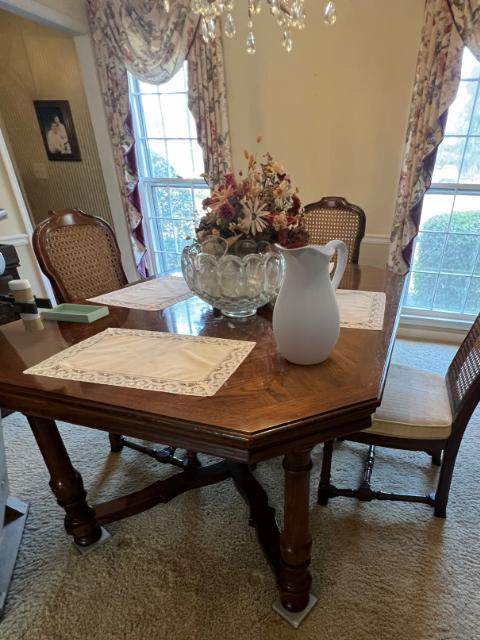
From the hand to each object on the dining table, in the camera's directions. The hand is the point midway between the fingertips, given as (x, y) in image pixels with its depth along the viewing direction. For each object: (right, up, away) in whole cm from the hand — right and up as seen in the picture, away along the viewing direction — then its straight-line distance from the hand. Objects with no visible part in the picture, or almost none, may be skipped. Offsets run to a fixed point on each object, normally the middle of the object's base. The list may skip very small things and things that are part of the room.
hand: (43, 306), depth 102 cm
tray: (-6, +3, +26) cm, 27 cm away
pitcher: (+73, -13, -1) cm, 74 cm away
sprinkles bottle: (-5, -6, +4) cm, 9 cm away
